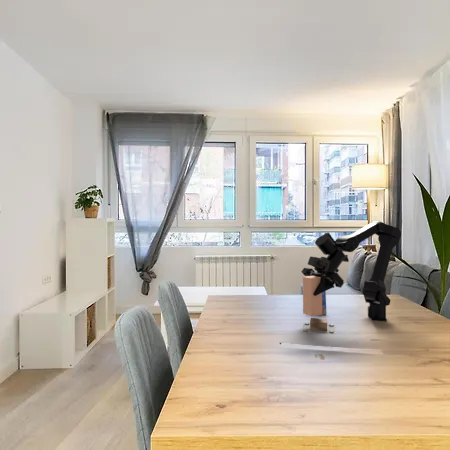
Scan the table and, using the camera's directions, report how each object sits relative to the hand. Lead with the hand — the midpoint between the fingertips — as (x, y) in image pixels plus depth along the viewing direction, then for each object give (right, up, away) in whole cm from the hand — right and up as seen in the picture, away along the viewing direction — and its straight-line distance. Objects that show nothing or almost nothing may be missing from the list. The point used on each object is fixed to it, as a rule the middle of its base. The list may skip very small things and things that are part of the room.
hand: (309, 294), depth 149 cm
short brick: (+3, -12, -2) cm, 13 cm away
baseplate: (+3, -13, -2) cm, 14 cm away
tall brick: (+1, -8, +1) cm, 8 cm away
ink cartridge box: (+10, -13, +29) cm, 33 cm away
